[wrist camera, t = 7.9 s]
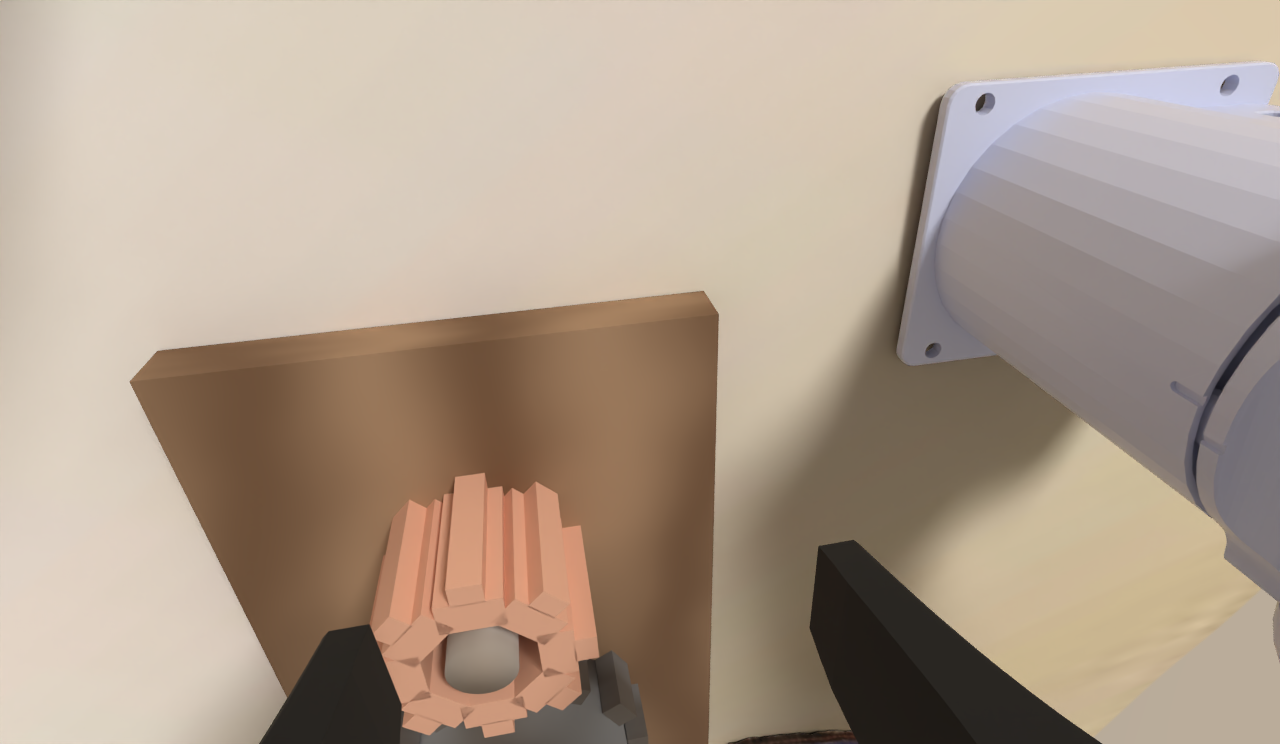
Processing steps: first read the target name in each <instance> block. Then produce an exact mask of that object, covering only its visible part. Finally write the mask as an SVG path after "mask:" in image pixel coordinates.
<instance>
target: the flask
mask: <svg viewBox="0 0 1280 744" xmlns="http://www.w3.org/2000/svg"><path fill="white" fill-rule="evenodd" d="M729 744H858V742H857V740H856V738H855V736H854V734H853V732H852V731H846V732H844V731H839V730H837V731H834V730H833V731H831V730H830V731H826V732H816V733H814V734H808V735H807V734H804V733H797V734H788V735H787V734H786V735H777V736H768V737H763V738H758V737H756V738H755V737H752V738H747V739H744V740H743V741H740V742H737V743H729Z"/></svg>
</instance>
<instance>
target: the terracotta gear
mask: <svg viewBox="0 0 1280 744" xmlns="http://www.w3.org/2000/svg"><path fill="white" fill-rule="evenodd" d="M370 626H371V629H372V631H373V634H374V636H375V639H376V641H377V644H378V646H379V649H380V651H381V654H382V656H383V659H384V661H385V664H386V666H387V669H388V671H389V674H390V676H391V679H392V681H393V684H394V686H395V689H396V691H397V694H398V696H399V699H400V701H401V703H402V711H404V717H403V725H402V727H404V728H407V729H410V730H413V731H417V732H420V733H423V734H426V735H431V734H432V733H433V732H434V731H435V730H436V729H437V728H438V727H439V726H440V725H441V724H444V725H447V726H450V727H453V728H456V727H457V726H458V725H459V724H460V723H461V722H462V721H463V720H464V724H465V727H466V729H467V728H472V727H478V726H482V730H483V734H484V737H485V738H487V737H492V736H498V735H503V734H508V733H513V732H515V719H520V718H525V717H527V709H528V710H531V711H533V712H536V713H537V712H538V711H539V710H541V709H542V708H543V707H544V706H545V705H546V704H547V705H549V706H552V707H555V708H557V709H560V710H564V709H565V708H566V707H567V706H568V705H569V704H570V703H572V702H573V701H574V700H575V699H576V698H577V697H578V696H580V695H581V694H582V690H581V681H580V672H579V664H578V661H581V660H587V659H593V658H598V657H599V650H598V641H597V633H596V626H595V619H594V613H593V606H592V599H591V592H590V586H589V579H588V572H587V565H586V558H585V552H584V545H583V538H582V531H581V525H579V526H573V527H566V528H562V523H561V518H560V510H559V501H558V494H557V493H555V492H553V491H552V490H550V489H548V488H546V487H545V486H543V485H541V484H539V483H538V482H535V483H534V484H533V485H532V486H531V487H530V488H529V489H528V490H527V491H526V492H525V493H524V494H523V493H521V492H519V491H517V490H515V489H513V488H511V490H510V491H509V492H508V493H507V494H506V495H505V496H504V493H503V488H502V486H500V487H493V488H488V487H487V482H486V477H485V473H480V474H473V475H466V476H459V477H455V484H454V493H451V494H444V498H443V503H442V502H440V501H438V500H436V499H434V501H433V502H432V503H431V504H430V505H429V506H428V507H427V508H425V507H423V506H421V505H419V504H417V503H415V502H413V501H411V500H408V502H407V503H406V504H405V505H404V506H403V507H402V508H401V509H400V510H399V512H398V513H397V514H396V515H395V516H394V517H393V519H392V524H391V529H390V534H389V539H388V544H387V550H386V555H383V559H382V564H381V569H380V574H379V579H378V584H377V590H376V595H375V600H374V605H373V610H372V615H371V620H370ZM493 626H501V627H503V628H506V629H508V630H510V631H513V632H515V633H517V634H518V635H519V672H518V675H517V677H516V678H515V679H514V680H513V681H512V682H511V683H510V684H509V685H507V686H506V687H504V688H502V689H500V690H498V691H495V692H491V693H485V694H469V693H464V692H461V691H459V690H456V689H455V688H453V687H452V686H450V685H449V683H448V682H447V681H446V678H445V660H446V647H447V635H448V634H452V633H458V632H464V631H470V630H476V629H482V628H487V627H493Z"/></svg>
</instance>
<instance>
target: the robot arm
mask: <svg viewBox="0 0 1280 744" xmlns="http://www.w3.org/2000/svg"><path fill="white" fill-rule="evenodd" d="M1278 77H1279V71H1278V67H1277V65H1276V64H1275V63H1271V62H1264V61H1249V62H1235V63H1221V64H1207V65H1193V66H1179V67H1165V68H1151V69H1137V70H1123V71H1109V72H1095V73H1081V74H1067V75H1053V76H1039V77H1024V78H1010V79H996V80H982V81H968V82H961V83H957V84H955V85H953V86H952V87H951V88H949V89H948V90H947V92H946V93H945V95H944V96H943V98H942V101H941V104H940V109H939V115H938V120H937V126H936V132H935V137H934V143H933V148H932V154H931V159H930V165H929V171H928V176H927V182H926V187H925V193H924V199H923V204H922V210H921V215H920V221H919V226H918V232H917V238H916V243H915V249H914V254H913V260H912V265H911V271H910V277H909V282H908V288H907V293H906V299H905V305H904V310H903V316H902V321H901V327H900V332H899V338H898V344H897V356H898V357H899V359H900V360H901V361H902V362H903V363H905V364H907V365H908V366H917V365H925V364H933V363H940V362H948V361H956V360H963V359H971V358H979V357H986V356H994V355H998V356H1000V357H1001V358H1002V359H1004V360H1005V361H1006V362H1007V363H1009V364H1010V365H1011V366H1013V367H1014V368H1015V369H1017V370H1018V371H1019V372H1021V373H1022V374H1023V375H1025V376H1026V377H1027V378H1028V379H1030V380H1031V381H1032V382H1034V383H1035V384H1036V385H1038V386H1039V387H1040V388H1042V389H1043V390H1044V391H1046V392H1047V393H1048V394H1049V395H1051V396H1052V397H1053V398H1055V399H1056V400H1057V401H1059V402H1060V403H1061V404H1063V405H1064V406H1065V407H1066V408H1068V409H1069V410H1070V411H1072V412H1073V413H1074V414H1076V415H1077V416H1078V417H1080V418H1081V419H1082V420H1084V421H1085V422H1086V423H1087V424H1089V425H1090V426H1091V427H1093V428H1094V429H1095V430H1097V431H1098V432H1099V433H1101V434H1102V435H1103V436H1105V437H1106V438H1107V439H1108V440H1110V441H1111V442H1112V443H1114V444H1115V445H1116V446H1118V447H1119V448H1120V449H1122V450H1123V451H1124V452H1125V453H1127V454H1128V455H1129V456H1131V457H1132V458H1133V459H1135V460H1136V461H1137V462H1139V463H1140V464H1141V465H1143V466H1144V467H1145V468H1146V469H1148V470H1149V471H1150V472H1152V473H1153V474H1154V475H1156V476H1157V477H1158V478H1160V479H1161V480H1162V481H1163V482H1165V483H1166V484H1167V485H1169V486H1170V487H1171V488H1173V489H1174V490H1175V491H1177V492H1178V493H1179V494H1181V495H1182V496H1183V497H1184V498H1186V499H1187V500H1188V501H1190V502H1191V503H1192V504H1194V505H1195V506H1196V507H1198V508H1199V509H1200V510H1202V511H1203V512H1204V513H1205V514H1207V515H1208V516H1209V517H1211V518H1213V519H1214V520H1215V521H1216V522H1217V523H1218V524H1219V525H1220V526H1221V527H1222V528H1223V529H1224V531H1225V534H1226V538H1227V544H1226V548H1225V552H1224V559H1226V560H1227V561H1228V562H1229V563H1231V564H1232V565H1233V566H1234V567H1236V568H1237V569H1238V570H1239V571H1241V572H1242V573H1243V574H1244V575H1245V576H1247V577H1248V578H1249V579H1250V580H1252V581H1253V582H1254V583H1255V584H1257V585H1258V586H1259V587H1260V588H1262V589H1263V590H1264V591H1266V592H1267V593H1268V594H1269V595H1270V596H1272V597H1273V598H1274V599H1275V600H1277V605H1276V608H1275V612H1274V616H1273V637H1274V645H1275V648H1276V651H1277V655H1278V658H1279V662H1280V107H1279V106H1273V105H1268V103H1269V100H1270V98H1271V96H1272V93H1273V91H1274V88H1275V86H1276V83H1277V80H1278ZM1224 80H1225V83H1224V85H1223V87H1222V88H1221V85H1222V83H1223V81H1224ZM1220 88H1221V89H1220ZM982 94H985V103H984V105H983V107H982V108H981V109H980V110H979V111H977V112H976V110H975V105H976V102H977V100H978V98H979V97H980V96H981V95H982ZM932 343H934V345H933V347H932V348H931V349H930V350H929V351H926V352H925V350H926V348H927V347H928V346H929V345H930V344H932ZM810 631H811V633H812V636H813V639H814V642H815V645H816V648H817V650H818V653H819V656H820V659H821V662H822V665H823V667H824V670H825V673H826V675H827V678H828V681H829V683H830V686H831V689H832V691H833V693H834V695H835V697H836V699H837V701H838V703H839V705H840V707H841V709H842V711H843V714H844V716H845V718H846V720H847V722H848V724H849V726H850V728H851V730H852V732H853V734H854V736H855V738H856V740H857V742H858V744H1102V743H1100V742H1099V741H1097V740H1096V739H1095V738H1093V737H1092V736H1090V735H1089V734H1087V733H1086V732H1085V731H1083V730H1082V729H1080V728H1079V727H1077V726H1076V725H1075V724H1073V723H1072V722H1070V721H1069V720H1068V719H1066V718H1065V717H1063V716H1062V715H1061V714H1059V713H1058V712H1057V711H1055V710H1054V709H1052V708H1051V707H1050V706H1048V705H1047V704H1046V703H1044V702H1043V701H1042V700H1040V699H1039V698H1038V697H1036V696H1035V695H1034V694H1032V693H1031V692H1030V691H1029V690H1027V689H1026V688H1025V687H1023V686H1022V685H1021V684H1020V683H1018V682H1017V681H1016V680H1014V679H1013V678H1012V677H1011V676H1009V675H1008V674H1007V673H1005V672H1004V671H1003V670H1002V669H1000V668H999V667H998V666H997V665H995V664H994V663H993V662H992V661H990V660H989V659H988V658H987V657H986V656H984V655H983V654H982V653H981V652H979V651H978V650H977V649H976V648H975V647H974V646H972V645H971V644H970V643H969V642H968V641H966V640H965V639H964V638H963V637H962V636H961V635H959V634H958V633H957V632H956V631H955V630H954V629H952V628H951V627H950V626H949V625H948V624H946V623H945V622H944V621H943V620H942V619H941V618H939V617H938V616H937V615H936V614H935V613H934V612H933V611H932V610H930V609H929V608H928V607H927V606H926V605H925V604H924V603H923V602H921V601H920V600H919V599H918V598H917V597H916V596H915V595H914V594H913V593H911V592H910V591H909V590H908V589H907V588H906V587H905V586H904V585H903V584H902V583H900V582H899V581H898V580H897V579H896V578H895V577H894V576H893V575H892V574H891V573H890V572H889V571H887V570H886V569H885V568H884V567H883V566H882V565H881V564H880V563H879V562H878V561H877V560H876V559H875V558H873V557H872V556H871V555H870V554H869V553H868V552H867V551H866V550H865V549H864V548H863V547H862V546H860V545H859V544H858V543H857V542H856V541H854V540H851V541H845V542H839V543H834V544H828V545H822V546H819V547H818V557H817V566H816V575H815V584H814V593H813V602H812V611H811V621H810ZM401 711H402V704H401V701H400V699H399V696H398V694H397V691H396V689H395V686H394V684H393V681H392V679H391V676H390V674H389V671H388V669H387V666H386V664H385V661H384V659H383V656H382V654H381V651H380V649H379V646H378V644H377V641H376V639H375V636H374V634H373V631H372V629H371V626H370V624H367V625H361V626H355V627H350V628H344V629H338V630H332V631H328V632H327V634H326V635H325V636H324V637H323V638H322V640H321V642H320V644H319V645H318V647H317V649H316V650H315V652H314V654H313V656H312V657H311V659H310V661H309V662H308V664H307V666H306V668H305V669H304V671H303V673H302V674H301V676H300V678H299V679H298V681H297V683H296V685H295V686H294V688H293V690H292V691H291V693H290V695H289V696H288V698H287V700H286V701H285V703H284V705H283V706H282V708H281V709H280V711H279V713H278V714H277V716H276V718H275V719H274V721H273V723H272V724H271V726H270V728H269V729H268V731H267V732H266V734H265V735H264V737H263V739H262V740H261V742H260V743H259V744H400V731H401Z"/></svg>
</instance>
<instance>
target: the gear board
mask: <svg viewBox="0 0 1280 744" xmlns="http://www.w3.org/2000/svg"><path fill="white" fill-rule="evenodd" d="M718 321H719V314H718V312H717V311H716V309H715V308H714V306H713V305H712V303H711V302H710V300H709V298H708V297H707V295H706V294H705V292H704V291H700V292H690V293H681V294H672V295H663V296H654V297H645V298H636V299H627V300H618V301H608V302H599V303H590V304H581V305H572V306H563V307H554V308H545V309H536V310H526V311H517V312H508V313H499V314H490V315H481V316H472V317H463V318H454V319H444V320H435V321H426V322H417V323H408V324H399V325H390V326H381V327H372V328H362V329H353V330H344V331H335V332H326V333H317V334H308V335H299V336H290V337H280V338H271V339H262V340H253V341H244V342H235V343H226V344H217V345H208V346H198V347H189V348H180V349H171V350H162V351H157V352H156V353H155V354H154V355H153V357H152V358H151V359H150V360H149V361H148V362H147V363H146V364H145V365H144V366H143V368H142V369H141V370H140V371H139V372H138V373H137V374H136V375H135V376H134V377H133V379H132V380H131V381H130V384H131V386H132V388H133V390H134V392H135V394H136V396H137V398H138V400H139V402H140V404H141V406H142V408H143V410H144V412H145V414H146V416H147V418H148V420H149V422H150V424H151V426H152V428H153V430H154V432H155V434H156V436H157V438H158V440H159V442H160V444H161V446H162V448H163V450H164V452H165V454H166V456H167V458H168V460H169V462H170V464H171V466H172V468H173V470H174V472H175V474H176V476H177V478H178V480H179V482H180V484H181V486H182V488H183V490H184V492H185V494H186V496H187V498H188V500H189V502H190V504H191V506H192V508H193V510H194V512H195V514H196V516H197V518H198V520H199V522H200V524H201V526H202V528H203V530H204V532H205V534H206V536H207V538H208V540H209V542H210V544H211V546H212V548H213V550H214V552H215V554H216V556H217V558H218V560H219V562H220V564H221V566H222V568H223V570H224V572H225V574H226V576H227V578H228V580H229V582H230V584H231V586H232V588H233V590H234V592H235V594H236V596H237V598H238V600H239V602H240V604H241V606H242V608H243V610H244V612H245V614H246V616H247V618H248V620H249V622H250V624H251V626H252V628H253V630H254V632H255V634H256V636H257V638H258V640H259V642H260V644H261V646H262V648H263V650H264V652H265V654H266V656H267V658H268V660H269V662H270V664H271V666H272V668H273V670H274V672H275V674H276V676H277V678H278V680H279V682H280V684H281V686H282V688H283V690H284V692H285V694H286V696H287V698H288V696H289V695H290V693H291V691H292V690H293V688H294V686H295V685H296V683H297V681H298V679H299V678H300V676H301V674H302V673H303V671H304V669H305V668H306V666H307V664H308V662H309V661H310V659H311V657H312V656H313V654H314V652H315V650H316V649H317V647H318V645H319V644H320V642H321V640H322V638H323V637H324V636H325V635H326V634H327V632H328V631H332V630H338V629H344V628H350V627H355V626H361V625H367V624H370V620H371V615H372V610H373V605H374V600H375V595H376V590H377V584H378V579H379V574H380V569H381V564H382V559H383V555H386V550H387V544H388V539H389V534H390V529H391V524H392V519H393V517H394V516H395V515H396V514H397V513H398V512H399V510H400V509H401V508H402V507H403V506H404V505H405V504H406V503H407V502H408V500H411V501H413V502H415V503H417V504H419V505H421V506H423V507H425V508H427V507H428V506H429V505H430V504H431V503H432V502H433V501H434V499H436V500H438V501H440V502H442V503H443V498H444V494H451V493H454V484H455V477H459V476H466V475H473V474H480V473H485V477H486V482H487V487H488V488H493V487H500V486H502V488H503V493H504V496H505V495H506V494H507V493H508V492H509V491H510V490H511V488H513V489H515V490H517V491H519V492H521V493H523V494H524V493H525V492H526V491H527V490H528V489H529V488H530V487H531V486H532V485H533V484H534V483H535V482H538V483H539V484H541V485H543V486H545V487H546V488H548V489H550V490H552V491H553V492H555V493H557V494H558V501H559V510H560V518H561V523H562V528H566V527H573V526H579V525H581V531H582V538H583V545H584V552H585V558H586V565H587V572H588V579H589V586H590V592H591V599H592V606H593V613H594V619H595V626H596V633H597V641H598V650H599V657H598V658H593V659H587V660H581V661H578V664H579V672H580V681H581V690H582V694H581V695H580V696H578V697H577V698H576V699H575V700H574V701H573V702H572V703H570V704H569V705H568V706H567V707H566V708H565V709H564V710H560V709H557V708H555V707H552V706H549V705H547V704H546V705H545V706H544V707H543V708H542V709H541V710H539V711H538V712H537V713H536V712H533V711H531V710H528V709H527V717H525V718H520V719H515V732H513V733H508V734H503V735H498V736H492V737H487V738H485V737H484V734H483V730H482V726H478V727H472V728H467V729H466V727H465V724H464V720H463V721H462V722H461V723H460V724H459V725H458V726H457V727H456V728H453V727H450V726H447V725H444V724H441V725H440V726H439V727H438V728H437V729H436V730H435V731H434V732H433V733H432V734H431V735H426V734H423V733H420V732H417V731H413V730H410V729H407V728H404V727H402V725H403V717H404V711H401V731H400V744H708V731H709V690H710V649H711V608H712V567H713V526H714V485H715V444H716V403H717V362H718ZM518 672H519V635H518V634H517V633H515V632H513V631H510V630H508V629H506V628H503V627H501V626H493V627H487V628H482V629H476V630H470V631H464V632H458V633H452V634H448V635H447V647H446V660H445V678H446V681H447V682H448V683H449V685H450V686H452V687H453V688H455V689H456V690H459V691H461V692H464V693H469V694H485V693H491V692H495V691H498V690H500V689H502V688H504V687H506V686H507V685H509V684H510V683H511V682H512V681H513V680H514V679H515V678H516V677H517V675H518ZM401 704H402V703H401Z"/></svg>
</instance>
